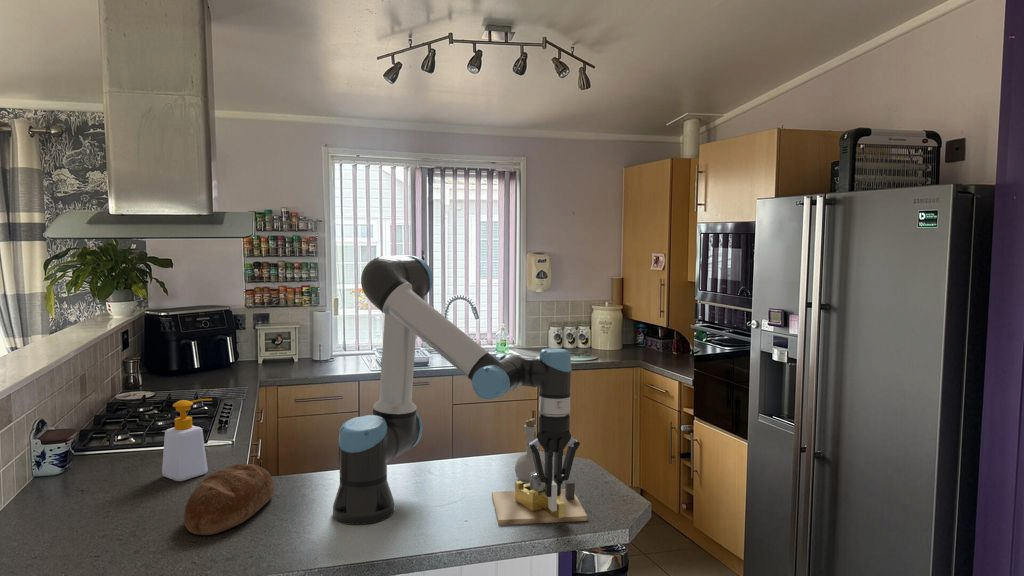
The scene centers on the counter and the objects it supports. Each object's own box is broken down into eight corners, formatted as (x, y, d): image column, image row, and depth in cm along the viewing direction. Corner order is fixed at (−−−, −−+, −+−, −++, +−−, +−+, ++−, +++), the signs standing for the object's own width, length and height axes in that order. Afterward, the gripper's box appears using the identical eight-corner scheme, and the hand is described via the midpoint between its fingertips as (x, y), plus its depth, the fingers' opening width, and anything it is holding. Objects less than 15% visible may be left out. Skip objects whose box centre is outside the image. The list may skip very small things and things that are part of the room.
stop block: (566, 500, 171) (567, 483, 171) (565, 497, 173) (565, 480, 173) (574, 499, 171) (574, 483, 171) (572, 496, 173) (572, 480, 173)
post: (530, 511, 167) (531, 476, 166) (528, 505, 171) (528, 471, 170) (546, 510, 167) (546, 476, 166) (543, 504, 171) (544, 470, 170)
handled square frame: (514, 499, 170) (515, 481, 170) (541, 493, 175) (542, 476, 174) (548, 521, 157) (548, 501, 157) (576, 514, 162) (576, 495, 161)
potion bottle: (542, 486, 184) (543, 423, 182) (511, 484, 185) (512, 421, 184) (547, 475, 192) (547, 415, 191) (517, 473, 194) (518, 413, 193)
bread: (167, 537, 152) (165, 489, 151) (233, 489, 181) (232, 449, 180) (231, 540, 150) (230, 492, 149) (287, 492, 179) (287, 451, 179)
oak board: (498, 524, 159) (498, 520, 159) (491, 496, 176) (491, 491, 176) (587, 520, 161) (587, 515, 161) (571, 492, 179) (571, 488, 179)
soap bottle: (223, 469, 196) (221, 396, 195) (178, 483, 184) (176, 406, 183) (204, 463, 201) (202, 392, 200) (159, 477, 190) (157, 401, 188)
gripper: (533, 418, 153) (531, 517, 154) (585, 415, 156) (582, 512, 158) (524, 410, 160) (522, 505, 161) (573, 408, 164) (571, 501, 165)
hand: (552, 509), depth 159 cm, fingers closed
